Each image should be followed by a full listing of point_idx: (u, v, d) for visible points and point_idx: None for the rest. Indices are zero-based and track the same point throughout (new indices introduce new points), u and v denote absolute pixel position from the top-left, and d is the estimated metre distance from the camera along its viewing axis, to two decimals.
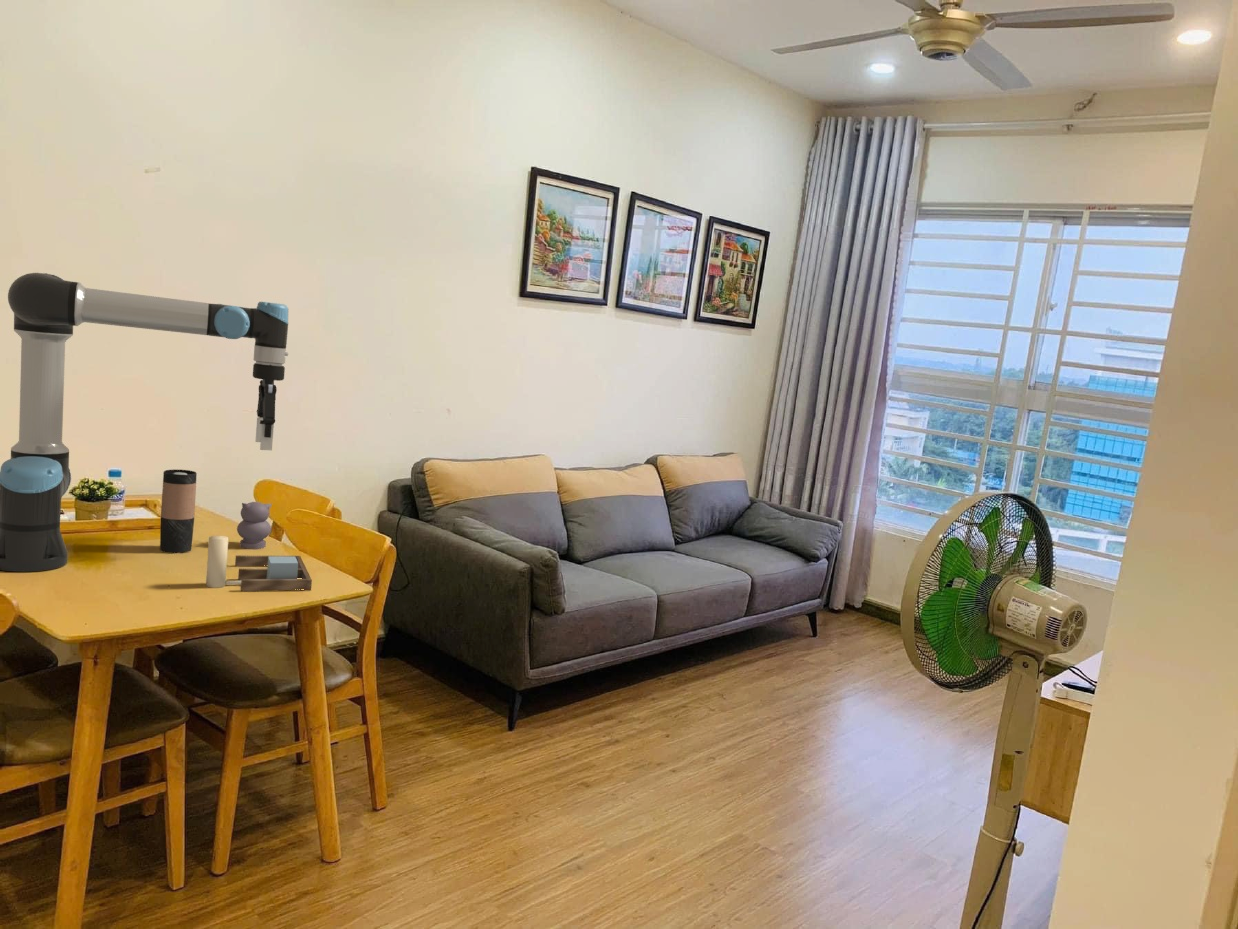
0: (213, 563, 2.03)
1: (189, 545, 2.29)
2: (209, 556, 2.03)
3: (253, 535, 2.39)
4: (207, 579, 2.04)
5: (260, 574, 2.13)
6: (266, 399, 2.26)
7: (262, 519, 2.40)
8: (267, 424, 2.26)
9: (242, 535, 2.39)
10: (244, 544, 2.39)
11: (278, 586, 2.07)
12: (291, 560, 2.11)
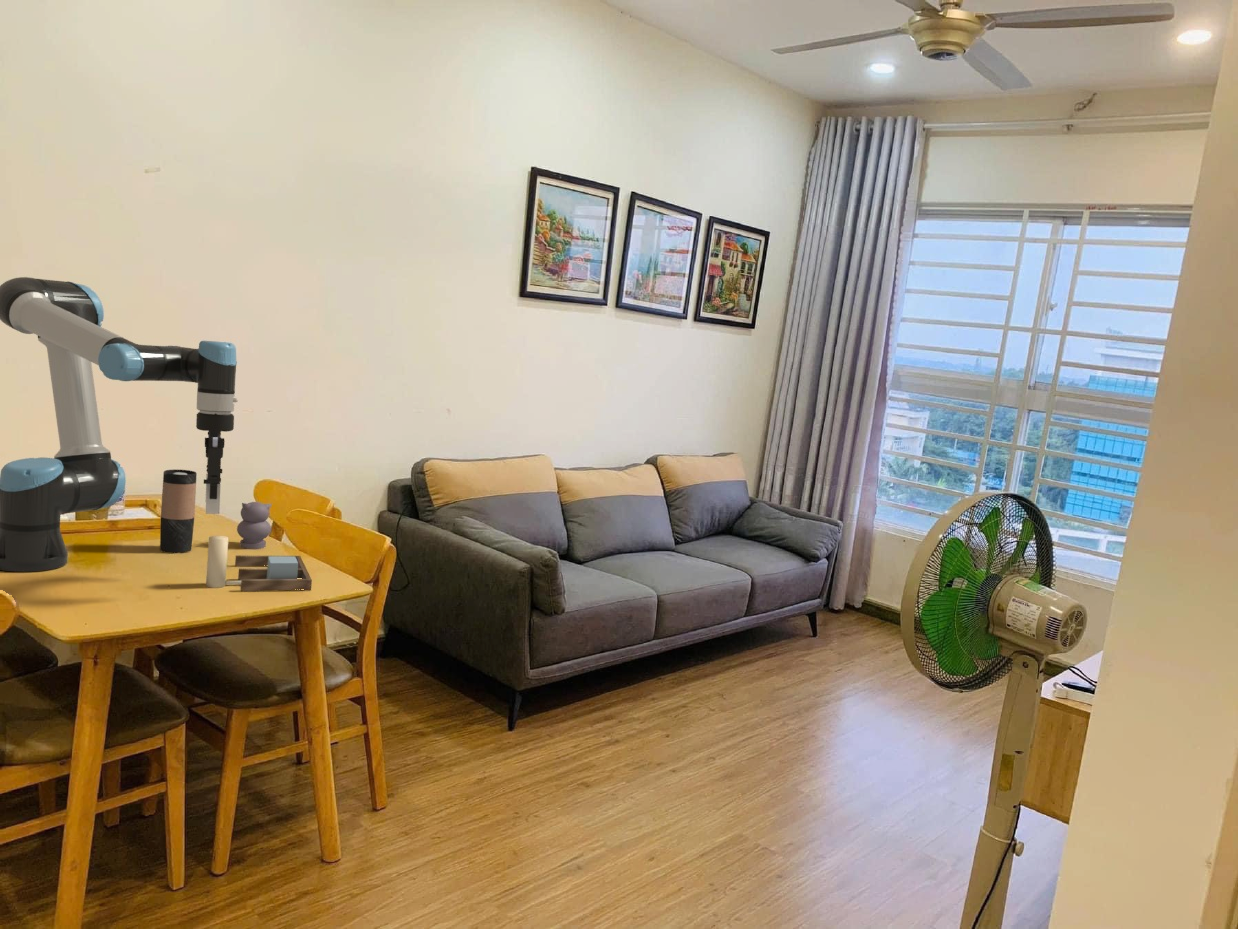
0: (213, 563, 2.03)
1: (189, 545, 2.29)
2: (209, 556, 2.03)
3: (253, 535, 2.39)
4: (207, 579, 2.04)
5: (260, 574, 2.13)
6: (210, 454, 1.93)
7: (262, 519, 2.40)
8: (212, 484, 1.93)
9: (242, 535, 2.39)
10: (244, 544, 2.39)
11: (278, 586, 2.07)
12: (291, 560, 2.11)
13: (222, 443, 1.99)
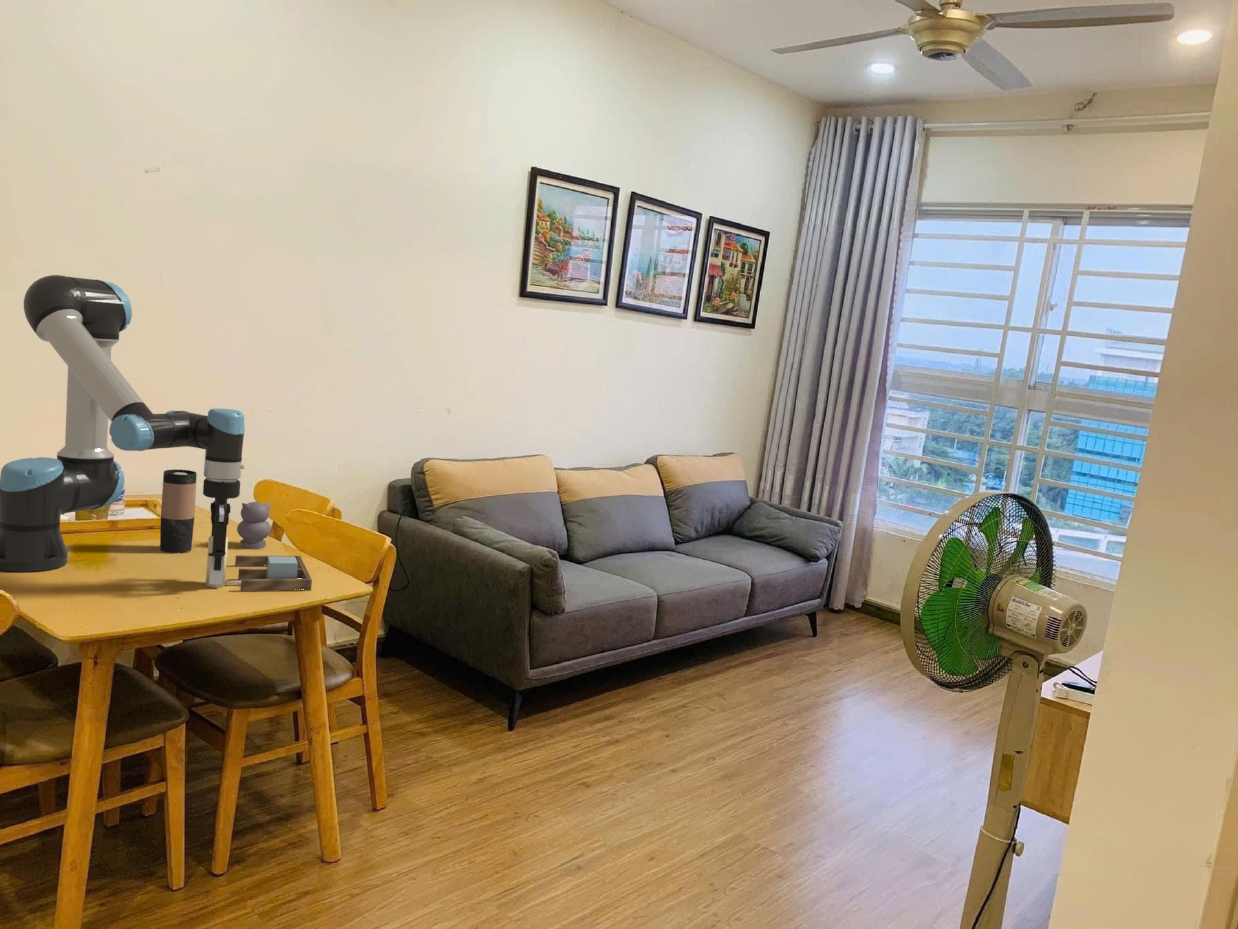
0: None
1: (189, 545, 2.29)
2: (208, 556, 2.03)
3: (253, 535, 2.39)
4: (207, 579, 2.04)
5: (260, 574, 2.13)
6: (216, 530, 1.98)
7: (262, 519, 2.40)
8: (217, 556, 2.01)
9: (242, 535, 2.39)
10: (244, 544, 2.39)
11: (278, 586, 2.07)
12: (291, 560, 2.11)
13: (228, 511, 2.02)
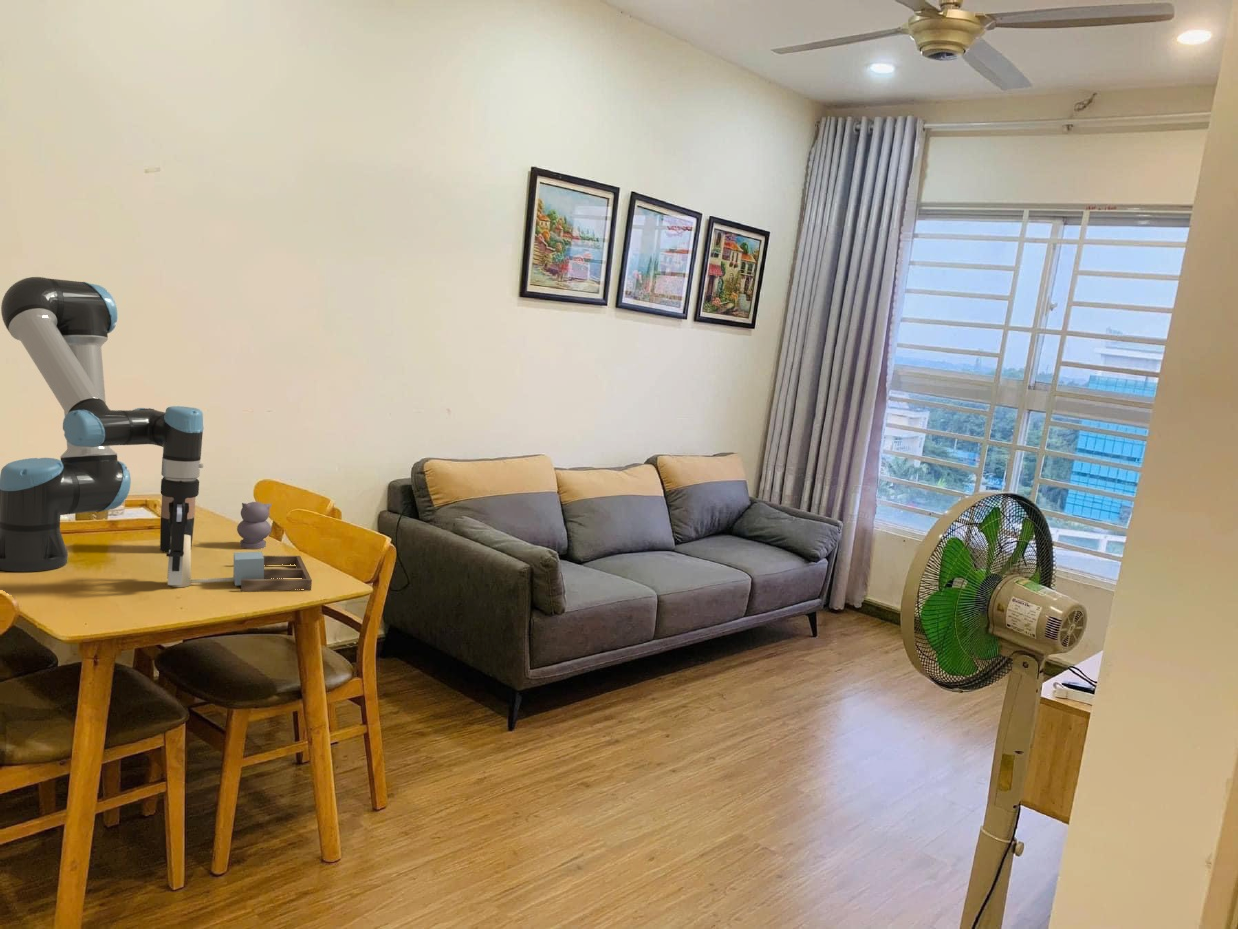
0: None
1: None
2: None
3: (253, 535, 2.39)
4: None
5: None
6: (174, 530, 1.95)
7: (262, 519, 2.40)
8: (175, 557, 1.97)
9: (242, 535, 2.39)
10: (244, 544, 2.39)
11: (278, 586, 2.07)
12: (257, 555, 2.08)
13: (186, 511, 1.99)
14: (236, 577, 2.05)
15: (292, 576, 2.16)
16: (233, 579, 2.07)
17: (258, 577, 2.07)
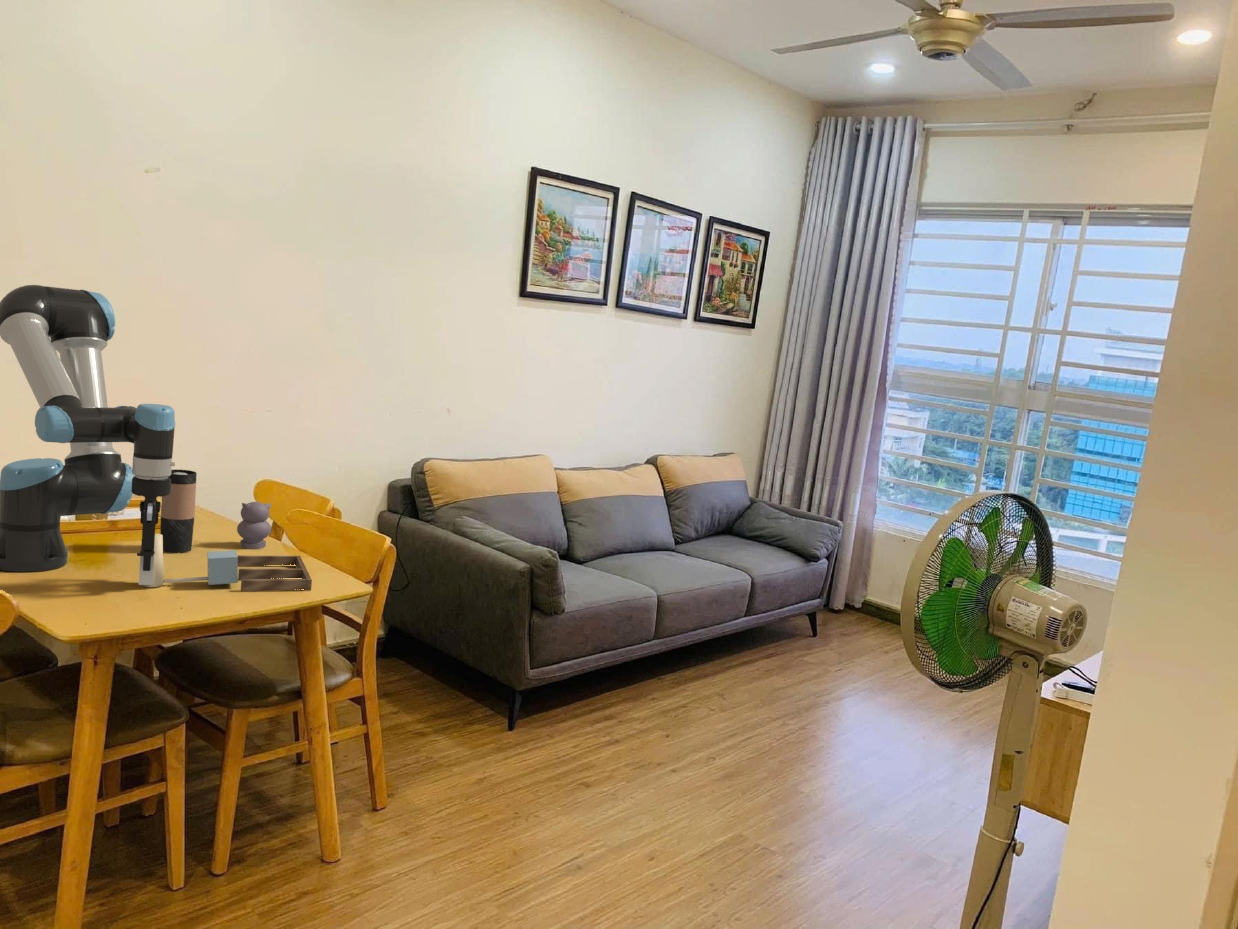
0: None
1: (189, 545, 2.29)
2: None
3: (253, 535, 2.39)
4: None
5: (260, 574, 2.13)
6: (144, 529, 1.92)
7: (262, 519, 2.40)
8: (145, 556, 1.95)
9: (242, 535, 2.39)
10: (244, 544, 2.39)
11: (278, 586, 2.07)
12: (231, 554, 2.05)
13: (158, 510, 1.96)
14: (209, 576, 2.02)
15: (292, 576, 2.16)
16: (207, 578, 2.04)
17: (232, 576, 2.04)
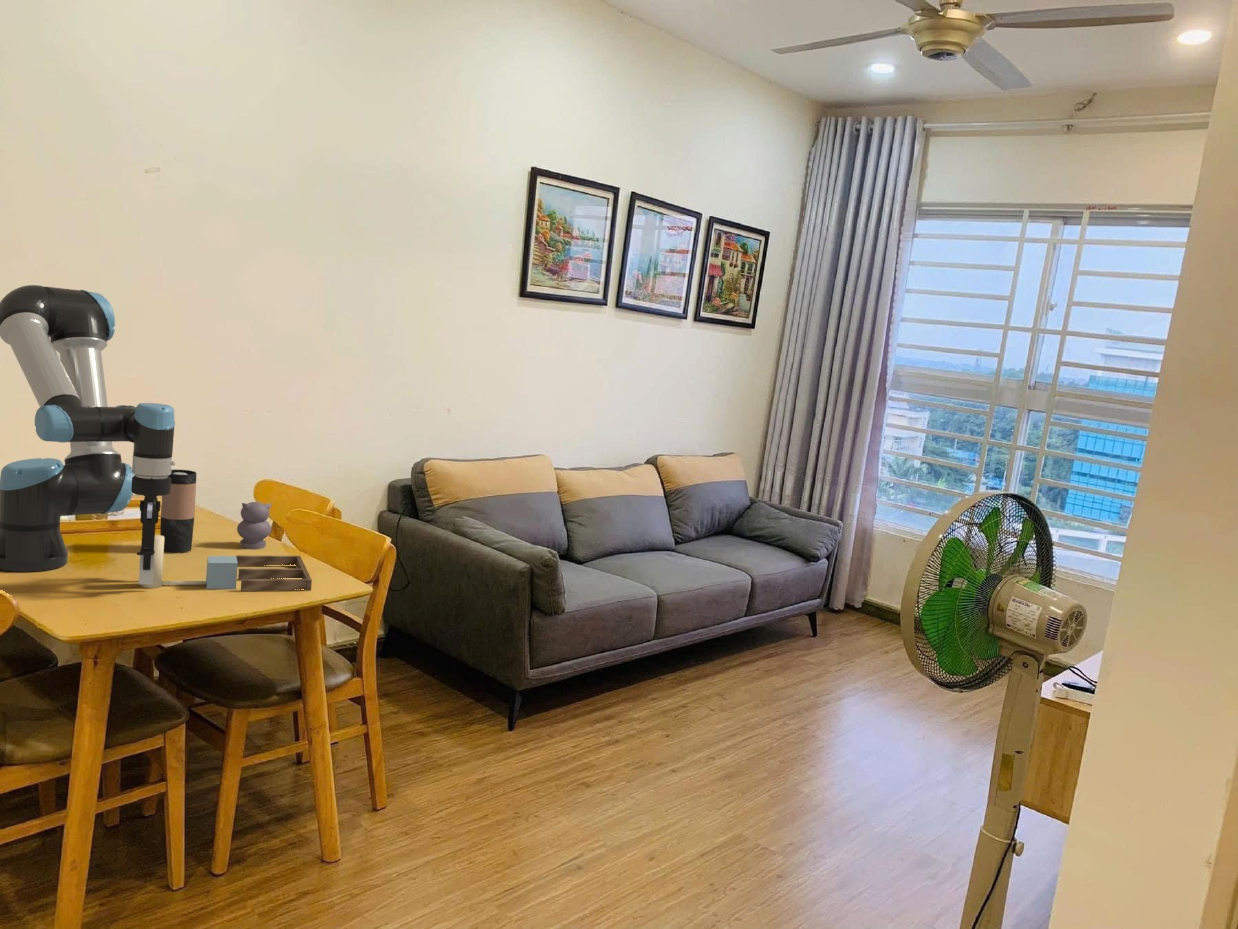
0: None
1: (189, 545, 2.29)
2: None
3: (253, 535, 2.39)
4: None
5: (260, 574, 2.13)
6: (144, 527, 1.91)
7: (262, 519, 2.40)
8: (145, 555, 1.93)
9: (242, 535, 2.39)
10: (244, 544, 2.39)
11: (278, 586, 2.07)
12: (231, 560, 2.06)
13: (158, 509, 1.96)
14: (208, 581, 2.02)
15: (292, 576, 2.16)
16: (205, 583, 2.04)
17: (230, 582, 2.04)
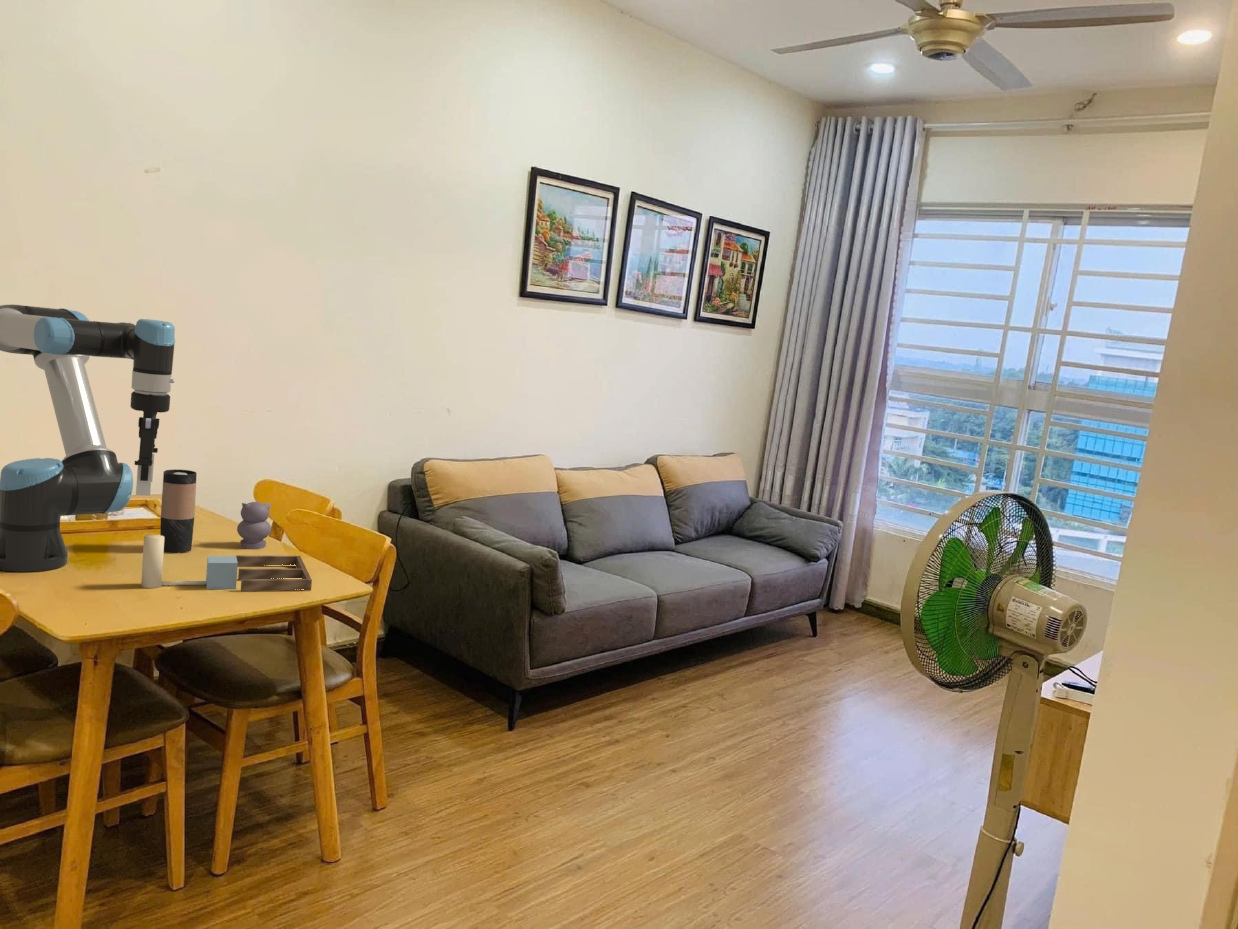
0: (148, 562, 1.97)
1: (189, 545, 2.29)
2: (144, 556, 1.97)
3: (253, 535, 2.39)
4: (142, 579, 1.98)
5: (260, 574, 2.13)
6: (142, 436, 1.90)
7: (262, 519, 2.40)
8: (143, 465, 1.91)
9: (242, 535, 2.39)
10: (244, 544, 2.39)
11: (278, 586, 2.07)
12: (231, 560, 2.06)
13: (156, 424, 1.96)
14: (208, 581, 2.02)
15: (292, 576, 2.16)
16: (205, 583, 2.04)
17: (230, 582, 2.04)
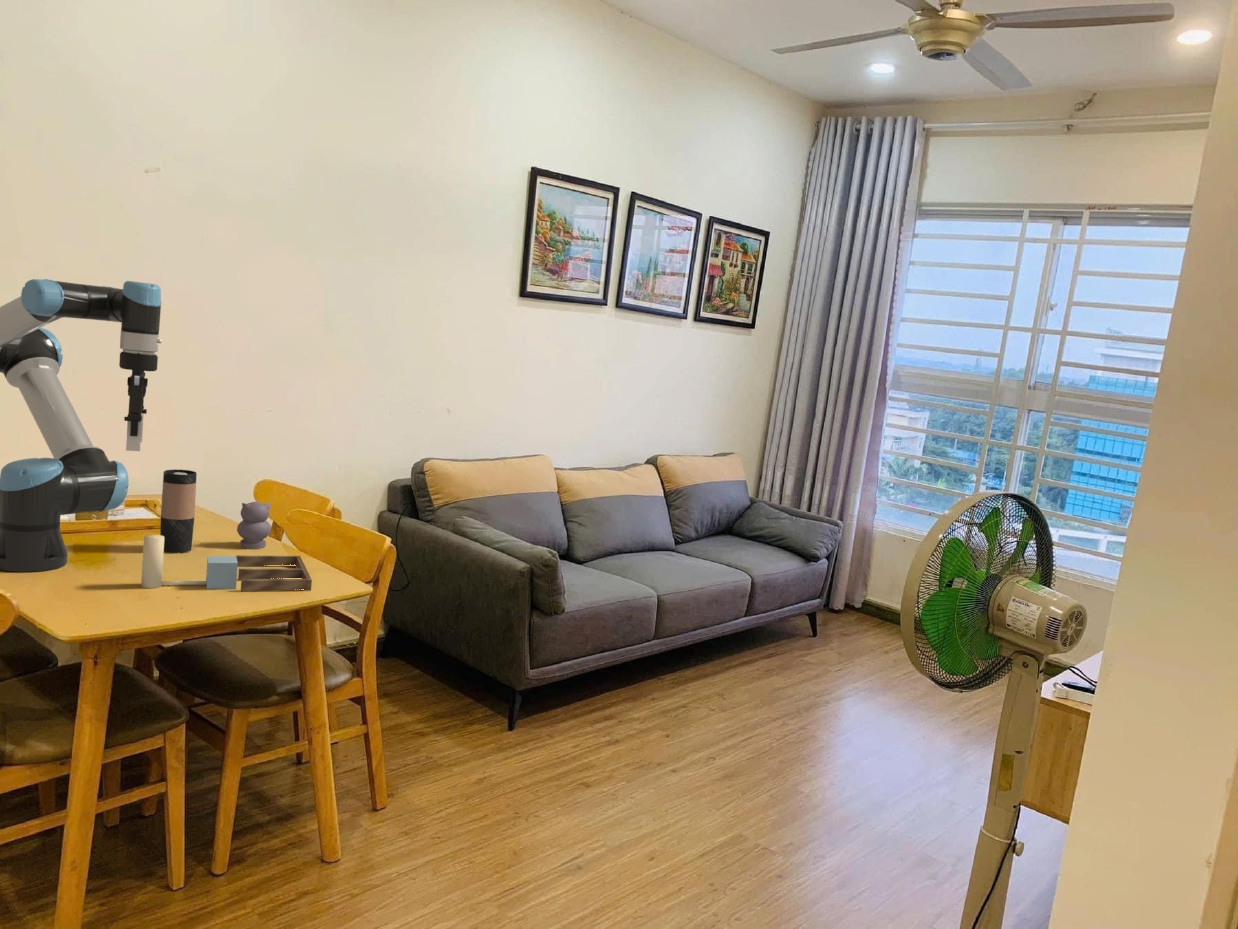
0: (148, 562, 1.97)
1: (189, 545, 2.29)
2: (144, 556, 1.97)
3: (253, 535, 2.39)
4: (142, 579, 1.98)
5: (260, 574, 2.13)
6: (131, 392, 1.97)
7: (262, 519, 2.40)
8: (133, 421, 1.97)
9: (242, 535, 2.39)
10: (244, 544, 2.39)
11: (278, 586, 2.07)
12: (231, 560, 2.06)
13: (145, 382, 2.03)
14: (208, 581, 2.02)
15: (292, 576, 2.16)
16: (205, 583, 2.04)
17: (230, 582, 2.04)
